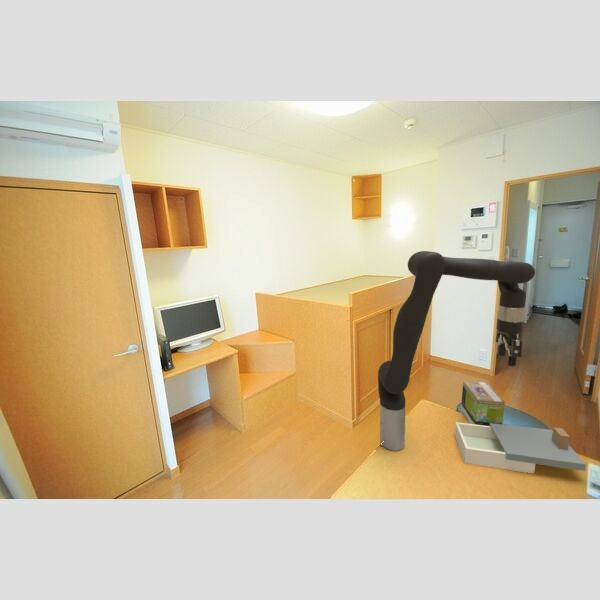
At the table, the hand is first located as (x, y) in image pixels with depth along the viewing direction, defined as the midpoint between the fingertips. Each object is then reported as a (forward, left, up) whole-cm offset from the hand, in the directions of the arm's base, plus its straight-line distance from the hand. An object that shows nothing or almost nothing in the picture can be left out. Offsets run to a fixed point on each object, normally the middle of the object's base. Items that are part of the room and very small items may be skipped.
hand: (506, 360), depth 98 cm
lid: (+6, -10, -28) cm, 30 cm away
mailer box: (-6, -10, -32) cm, 34 cm away
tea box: (-4, +8, -32) cm, 34 cm away
